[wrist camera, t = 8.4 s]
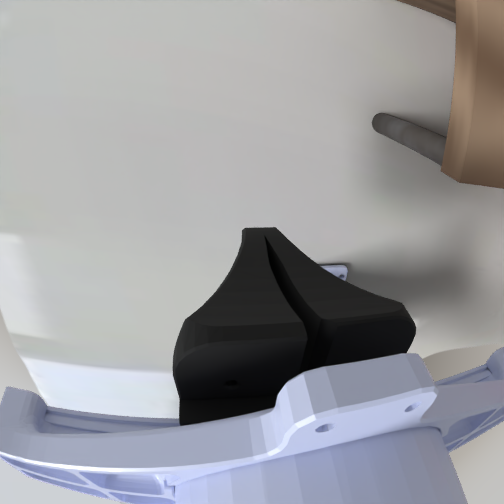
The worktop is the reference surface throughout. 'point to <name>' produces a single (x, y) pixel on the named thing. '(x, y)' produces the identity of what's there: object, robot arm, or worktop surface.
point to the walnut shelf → (465, 97)
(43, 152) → the worktop surface
